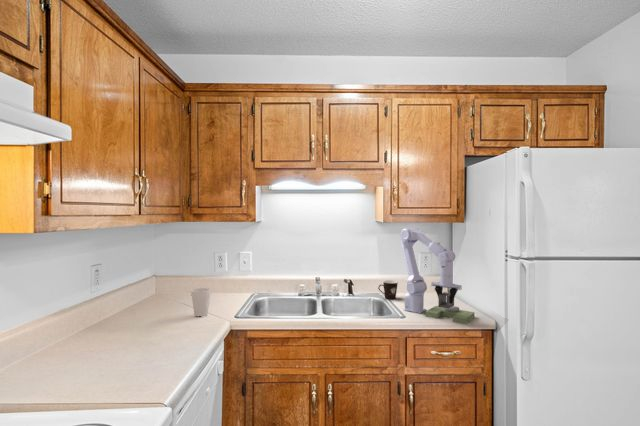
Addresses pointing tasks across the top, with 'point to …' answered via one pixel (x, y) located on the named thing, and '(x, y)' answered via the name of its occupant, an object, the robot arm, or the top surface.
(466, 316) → the notched green slab
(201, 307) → the foam cup
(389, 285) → the coffee mug
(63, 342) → the top surface
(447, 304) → the chute
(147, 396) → the top surface
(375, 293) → the top surface
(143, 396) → the top surface
